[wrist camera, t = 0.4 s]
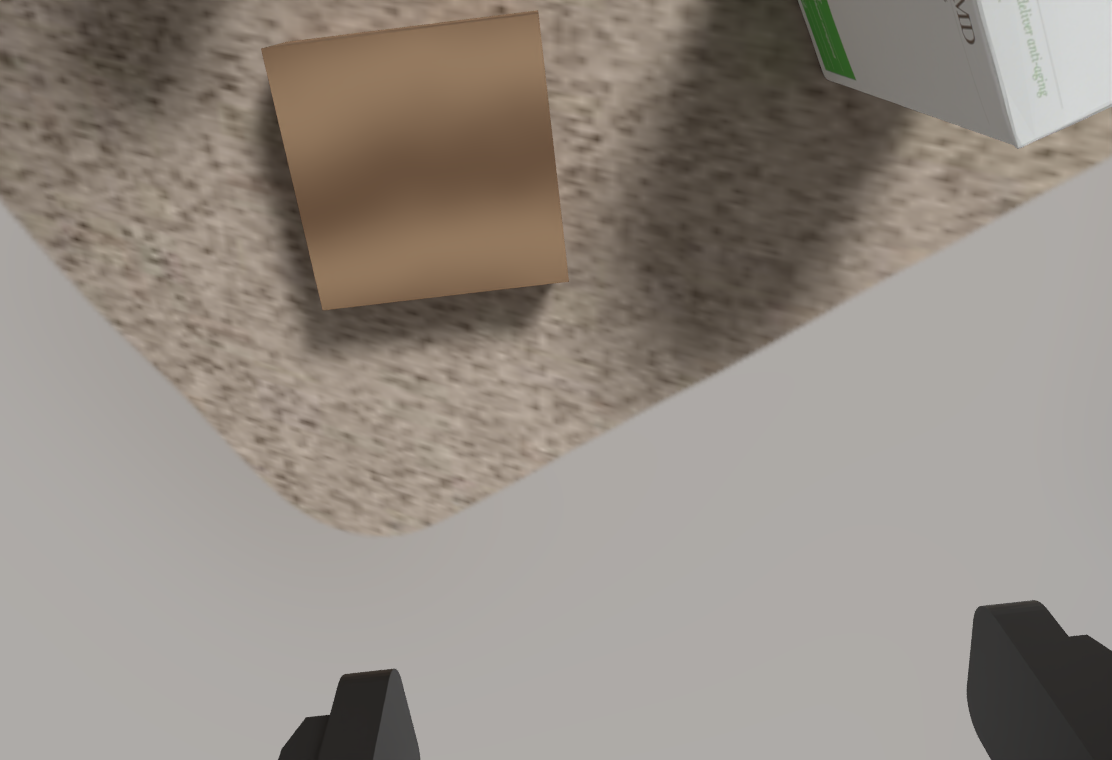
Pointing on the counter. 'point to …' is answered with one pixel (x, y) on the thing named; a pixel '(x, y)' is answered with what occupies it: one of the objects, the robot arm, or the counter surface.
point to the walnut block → (422, 159)
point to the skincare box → (972, 59)
